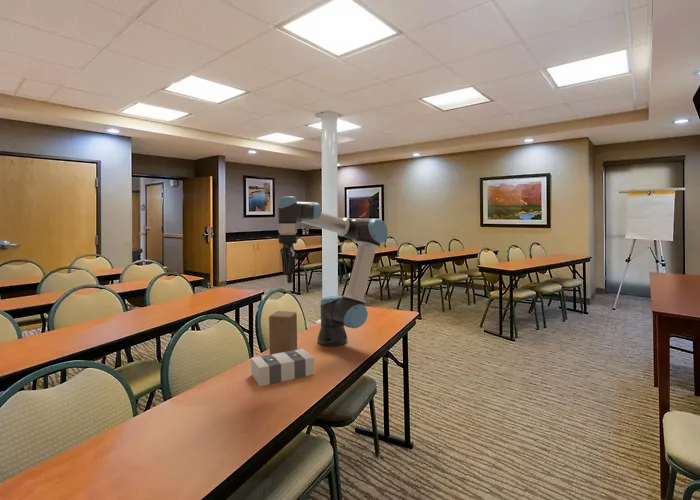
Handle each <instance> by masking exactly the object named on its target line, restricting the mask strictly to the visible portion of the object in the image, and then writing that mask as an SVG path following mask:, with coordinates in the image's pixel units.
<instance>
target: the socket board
mask: <svg viewBox="0 0 700 500" xmlns="http://www.w3.org/2000/svg"><path fill="white" fill-rule="evenodd" d="M291 353H298V354H299V357H295V358H290V357H289V355H290V354H291ZM269 357H274V358H275V359H276V361H274V362H269V363H266V362H265V359H266V358H269ZM250 361H251V362H250V363H251V364H250V365H251V369H250V370H251V377H252V378H254V379H253V380H255V382H256V383H257V384H258V387H263V386H264V387H265V386H268V385H272V384H277V383H281V382H286V381H290V380H295V379H299V378H305V377H309V376H314V375H315V357H314V356H313V355H311V354H310V353H309V352H308V351H306V350H305V349H304V348H301V349H297V350H293V351H287V352H282V353H276V354H271V355H270V354H265V355H260V356H255V357H251V359H250Z"/></svg>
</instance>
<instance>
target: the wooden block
mask: <svg viewBox="0 0 700 500" xmlns="http://www.w3.org/2000/svg"><path fill="white" fill-rule="evenodd" d="M297 316H298V315H297V312H296V311H283V310H278V311H276V312H273V313H272V314H270V315H269V316H268V331H269V333H268V334H269V335H268V336H269V337H268V340H269V355H271V354H276V353H282V352H287V351H293V350H298V320H297Z"/></svg>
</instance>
